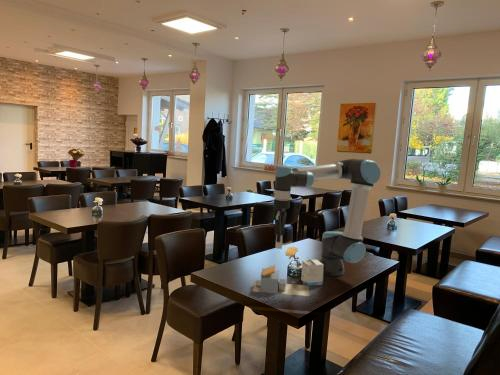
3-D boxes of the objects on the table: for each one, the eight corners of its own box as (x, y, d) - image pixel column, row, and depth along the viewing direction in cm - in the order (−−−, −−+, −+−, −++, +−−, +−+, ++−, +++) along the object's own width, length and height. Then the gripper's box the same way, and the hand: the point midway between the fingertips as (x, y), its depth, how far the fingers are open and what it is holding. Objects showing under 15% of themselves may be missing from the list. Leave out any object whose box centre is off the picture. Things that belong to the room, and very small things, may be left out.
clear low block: (285, 286, 183) (285, 279, 183) (285, 291, 177) (285, 284, 176) (256, 283, 184) (257, 277, 184) (255, 288, 178) (256, 281, 177)
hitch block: (278, 283, 186) (278, 270, 185) (277, 292, 174) (278, 279, 173) (262, 282, 187) (262, 269, 186) (260, 291, 175) (261, 278, 174)
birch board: (308, 287, 185) (308, 285, 185) (309, 298, 172) (309, 296, 172) (254, 283, 188) (254, 281, 188) (251, 293, 175) (251, 291, 175)
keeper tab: (275, 266, 184) (274, 264, 184) (274, 273, 174) (274, 271, 174) (262, 270, 185) (262, 268, 185) (261, 277, 175) (260, 275, 175)
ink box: (322, 286, 188) (324, 261, 186) (307, 288, 185) (309, 261, 184) (315, 280, 196) (316, 256, 194) (300, 281, 193) (302, 256, 192)
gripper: (278, 197, 182) (274, 244, 185) (270, 199, 170) (266, 250, 173) (293, 198, 180) (289, 246, 182) (286, 201, 168) (282, 252, 170)
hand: (278, 248), depth 177 cm, fingers closed
